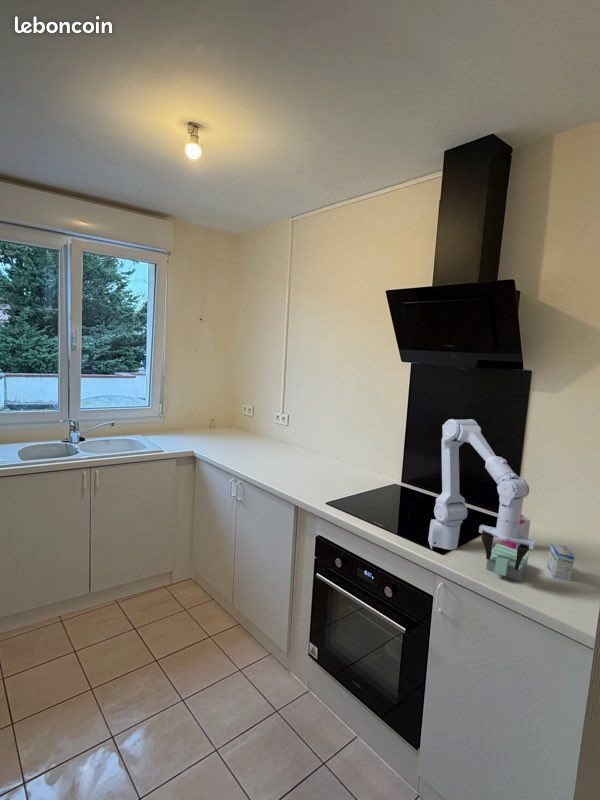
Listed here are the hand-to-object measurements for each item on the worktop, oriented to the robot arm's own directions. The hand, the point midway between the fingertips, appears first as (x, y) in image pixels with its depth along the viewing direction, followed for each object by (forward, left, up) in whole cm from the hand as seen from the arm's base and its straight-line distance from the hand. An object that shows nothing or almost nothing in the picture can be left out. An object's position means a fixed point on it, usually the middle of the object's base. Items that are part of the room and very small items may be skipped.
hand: (502, 563), depth 121 cm
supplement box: (+12, +25, -6) cm, 28 cm away
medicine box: (+20, +9, -6) cm, 23 cm away
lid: (+3, +5, -3) cm, 7 cm away
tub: (+4, +7, -6) cm, 10 cm away
